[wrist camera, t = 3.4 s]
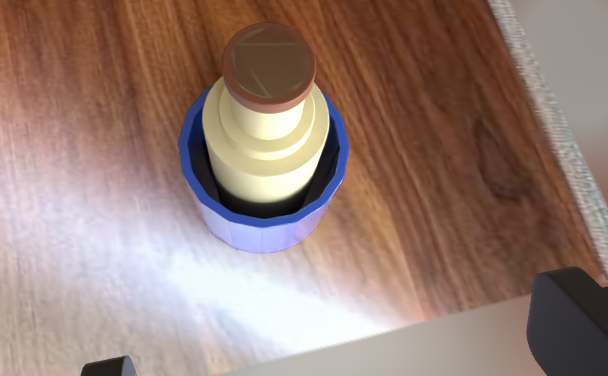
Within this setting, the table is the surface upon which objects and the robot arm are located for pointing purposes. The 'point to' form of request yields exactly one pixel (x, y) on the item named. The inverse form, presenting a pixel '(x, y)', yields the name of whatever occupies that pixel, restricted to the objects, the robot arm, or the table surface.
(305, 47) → the cream bottle
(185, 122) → the blue cup
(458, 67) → the table surface
